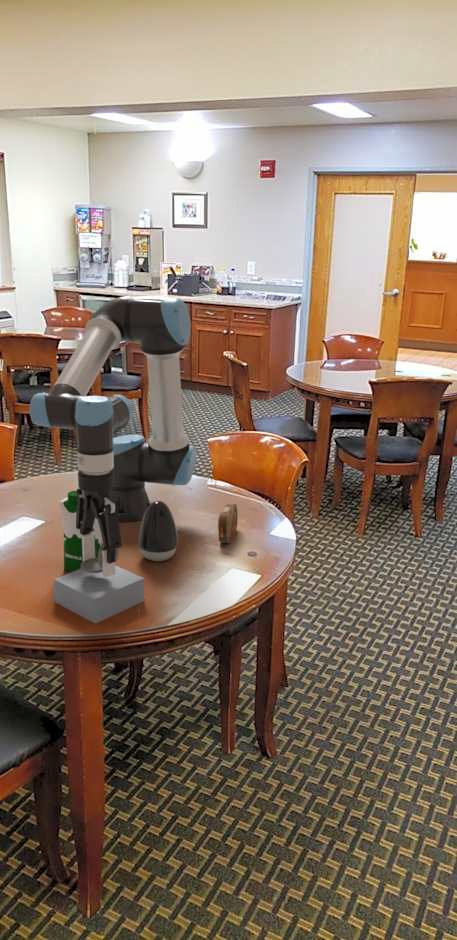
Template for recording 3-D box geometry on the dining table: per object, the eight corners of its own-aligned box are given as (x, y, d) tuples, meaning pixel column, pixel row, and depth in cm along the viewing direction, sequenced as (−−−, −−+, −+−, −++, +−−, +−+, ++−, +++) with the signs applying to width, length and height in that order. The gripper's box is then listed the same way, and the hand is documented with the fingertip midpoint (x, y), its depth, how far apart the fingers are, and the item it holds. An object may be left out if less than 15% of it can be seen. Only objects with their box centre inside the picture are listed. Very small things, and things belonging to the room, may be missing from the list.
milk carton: (58, 570, 177) (54, 493, 171) (80, 557, 185) (77, 482, 179) (88, 577, 174) (85, 499, 168) (109, 563, 182) (107, 488, 176)
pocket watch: (82, 562, 163) (80, 520, 160) (120, 561, 164) (119, 520, 161) (78, 578, 155) (76, 534, 153) (118, 577, 156) (117, 534, 153)
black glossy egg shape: (147, 568, 179) (146, 511, 175) (132, 553, 188) (131, 498, 183) (184, 561, 184) (185, 505, 179) (168, 546, 193) (168, 492, 188)
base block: (55, 603, 162) (53, 579, 160) (103, 583, 172) (103, 560, 170) (95, 625, 153) (94, 599, 151) (144, 602, 163) (143, 578, 161)
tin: (227, 548, 193) (228, 518, 190) (216, 547, 193) (216, 517, 191) (238, 527, 207) (239, 500, 204) (227, 526, 207) (228, 499, 205)
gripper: (56, 461, 159) (61, 556, 165) (105, 486, 143) (108, 590, 150) (87, 455, 163) (90, 548, 170) (137, 479, 148) (139, 580, 155)
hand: (98, 567), depth 160 cm, fingers closed on pocket watch, 8 cm apart
